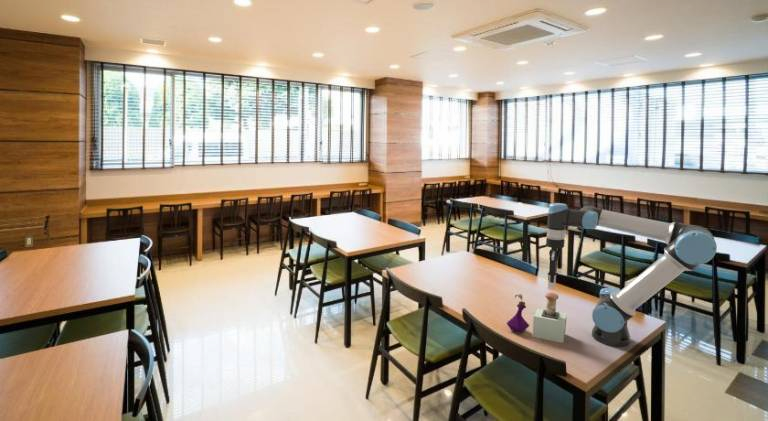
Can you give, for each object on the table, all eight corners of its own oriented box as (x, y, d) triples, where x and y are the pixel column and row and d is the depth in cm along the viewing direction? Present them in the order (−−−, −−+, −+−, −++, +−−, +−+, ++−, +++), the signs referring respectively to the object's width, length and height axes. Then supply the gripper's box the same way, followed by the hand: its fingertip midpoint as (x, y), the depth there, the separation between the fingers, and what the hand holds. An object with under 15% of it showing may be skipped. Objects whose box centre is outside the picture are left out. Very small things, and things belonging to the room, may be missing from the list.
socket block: (565, 334, 186) (566, 312, 185) (563, 343, 178) (565, 320, 176) (535, 327, 193) (537, 307, 191) (532, 336, 184) (533, 314, 182)
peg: (557, 314, 185) (559, 294, 183) (556, 319, 180) (557, 298, 178) (544, 312, 187) (546, 292, 186) (543, 316, 183) (544, 295, 181)
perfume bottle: (529, 331, 189) (531, 295, 186) (518, 335, 185) (520, 298, 182) (516, 325, 195) (518, 290, 192) (505, 329, 191) (507, 293, 188)
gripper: (548, 234, 185) (544, 282, 189) (544, 240, 174) (540, 291, 178) (566, 235, 182) (561, 285, 186) (563, 242, 170) (559, 294, 174)
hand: (551, 288), depth 182 cm, fingers closed
